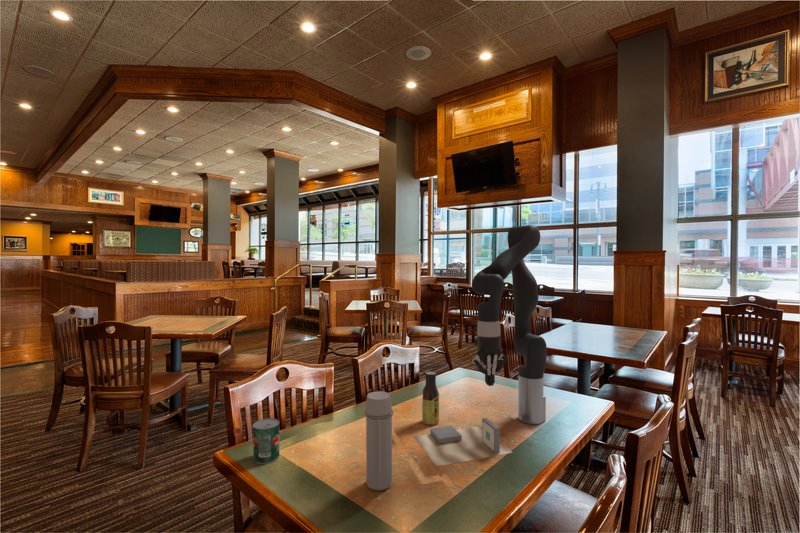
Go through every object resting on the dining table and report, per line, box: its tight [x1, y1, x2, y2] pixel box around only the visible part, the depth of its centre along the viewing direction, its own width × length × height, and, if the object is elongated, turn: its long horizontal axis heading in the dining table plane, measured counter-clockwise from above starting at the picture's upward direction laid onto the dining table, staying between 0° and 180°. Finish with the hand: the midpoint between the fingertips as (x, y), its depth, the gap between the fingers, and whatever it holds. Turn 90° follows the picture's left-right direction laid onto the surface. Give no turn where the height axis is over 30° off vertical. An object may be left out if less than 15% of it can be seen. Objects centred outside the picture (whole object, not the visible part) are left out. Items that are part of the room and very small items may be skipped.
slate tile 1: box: [429, 425, 462, 444], centre depth 131 cm, size 2×8×8 cm
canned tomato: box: [252, 417, 281, 465], centre depth 121 cm, size 8×8×11 cm
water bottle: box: [364, 390, 394, 492], centre depth 105 cm, size 9×8×25 cm
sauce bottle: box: [421, 371, 440, 427], centre depth 143 cm, size 7×6×20 cm
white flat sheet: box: [413, 425, 514, 467], centre depth 126 cm, size 26×20×2 cm
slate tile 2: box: [481, 417, 501, 454], centre depth 124 cm, size 2×8×8 cm, turn 18°
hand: (489, 385), depth 128 cm, fingers closed
